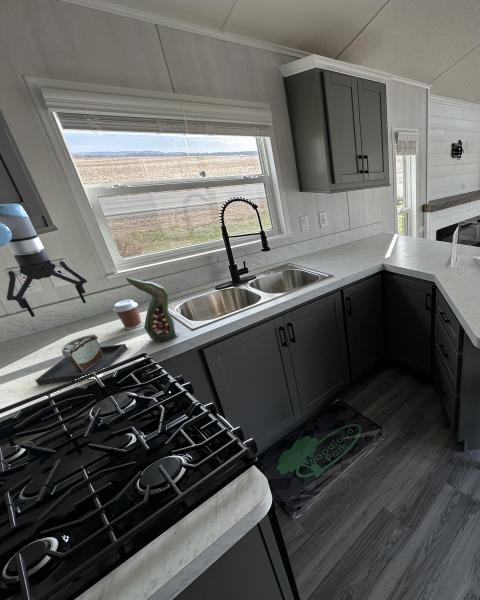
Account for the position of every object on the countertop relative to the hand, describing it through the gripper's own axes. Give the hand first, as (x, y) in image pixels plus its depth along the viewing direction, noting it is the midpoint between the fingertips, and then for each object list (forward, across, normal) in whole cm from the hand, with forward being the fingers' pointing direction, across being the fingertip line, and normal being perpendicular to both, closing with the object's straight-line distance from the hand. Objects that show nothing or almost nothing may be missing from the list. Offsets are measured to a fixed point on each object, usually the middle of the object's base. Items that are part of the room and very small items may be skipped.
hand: (59, 308), depth 118 cm
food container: (+24, +1, +2) cm, 24 cm away
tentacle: (+24, -26, +3) cm, 36 cm away
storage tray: (+24, +1, +2) cm, 24 cm away
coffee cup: (+24, -19, -23) cm, 38 cm away
